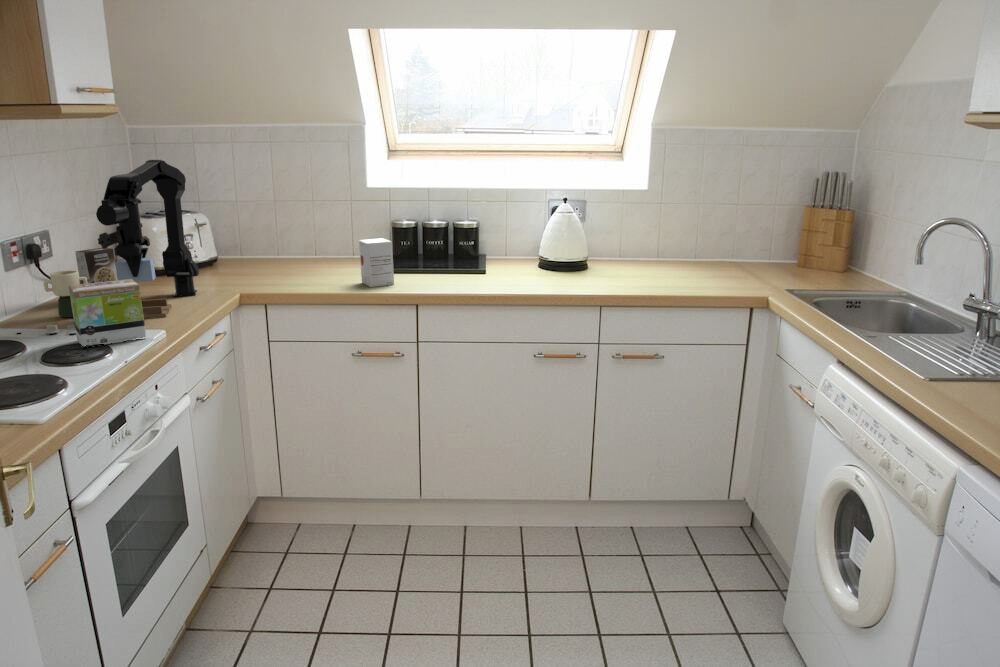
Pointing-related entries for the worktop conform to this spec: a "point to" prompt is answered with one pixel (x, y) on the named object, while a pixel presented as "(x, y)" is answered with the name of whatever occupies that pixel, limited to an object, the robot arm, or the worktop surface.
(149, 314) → the walnut rack
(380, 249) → the supplement box
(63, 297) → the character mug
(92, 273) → the coffee box
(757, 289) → the worktop surface
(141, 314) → the tea box
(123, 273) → the pale blue cuboid
